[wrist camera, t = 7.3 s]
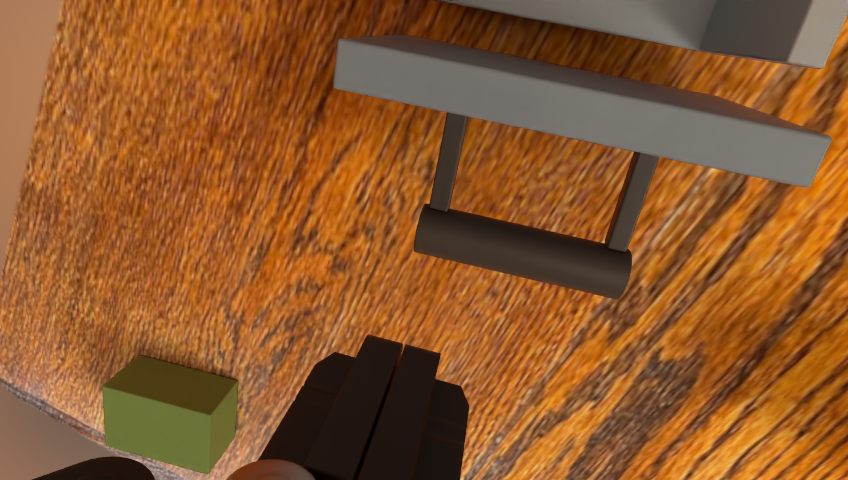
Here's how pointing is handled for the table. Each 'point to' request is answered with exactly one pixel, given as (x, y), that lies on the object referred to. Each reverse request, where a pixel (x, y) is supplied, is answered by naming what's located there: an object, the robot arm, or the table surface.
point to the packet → (170, 413)
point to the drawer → (597, 116)
